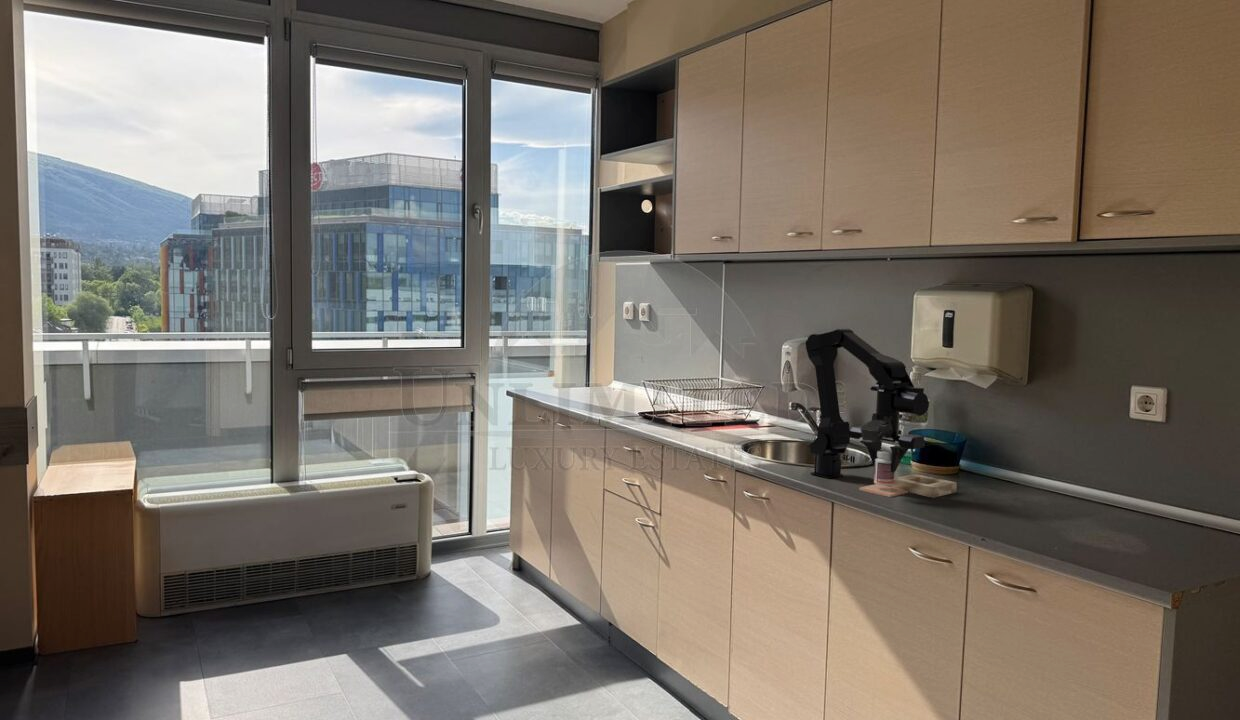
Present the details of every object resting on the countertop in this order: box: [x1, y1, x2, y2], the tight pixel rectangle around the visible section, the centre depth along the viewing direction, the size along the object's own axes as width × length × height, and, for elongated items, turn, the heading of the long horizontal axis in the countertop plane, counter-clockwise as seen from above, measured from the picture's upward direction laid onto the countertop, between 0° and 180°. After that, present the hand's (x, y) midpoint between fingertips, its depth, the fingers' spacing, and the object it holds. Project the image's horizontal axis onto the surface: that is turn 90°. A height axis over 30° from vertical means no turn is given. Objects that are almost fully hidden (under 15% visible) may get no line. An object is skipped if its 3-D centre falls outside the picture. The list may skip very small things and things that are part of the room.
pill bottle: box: [873, 449, 895, 487], centre depth 216 cm, size 5×5×8 cm
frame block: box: [890, 473, 957, 498], centre depth 219 cm, size 12×11×2 cm
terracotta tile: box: [859, 483, 909, 498], centre depth 216 cm, size 9×8×1 cm
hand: (884, 470), depth 216 cm, fingers closed on pill bottle, 5 cm apart
